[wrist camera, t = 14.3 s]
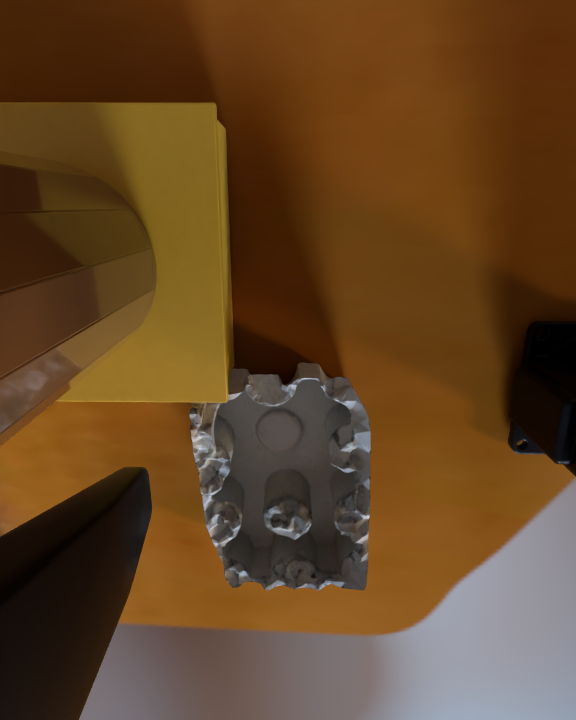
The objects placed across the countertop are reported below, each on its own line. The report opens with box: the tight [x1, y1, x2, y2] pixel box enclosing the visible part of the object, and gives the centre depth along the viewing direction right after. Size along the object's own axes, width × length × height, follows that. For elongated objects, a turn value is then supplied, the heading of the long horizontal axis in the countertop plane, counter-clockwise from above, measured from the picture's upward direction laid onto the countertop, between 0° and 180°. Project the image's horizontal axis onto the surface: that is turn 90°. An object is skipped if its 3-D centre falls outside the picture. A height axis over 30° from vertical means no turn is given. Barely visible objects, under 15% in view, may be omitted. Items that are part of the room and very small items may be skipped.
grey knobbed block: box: [189, 362, 371, 591], centre depth 21 cm, size 11×8×4 cm
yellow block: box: [0, 102, 234, 403], centre depth 18 cm, size 11×10×4 cm
